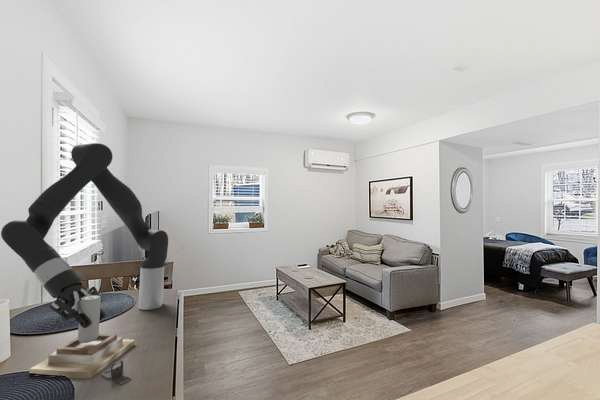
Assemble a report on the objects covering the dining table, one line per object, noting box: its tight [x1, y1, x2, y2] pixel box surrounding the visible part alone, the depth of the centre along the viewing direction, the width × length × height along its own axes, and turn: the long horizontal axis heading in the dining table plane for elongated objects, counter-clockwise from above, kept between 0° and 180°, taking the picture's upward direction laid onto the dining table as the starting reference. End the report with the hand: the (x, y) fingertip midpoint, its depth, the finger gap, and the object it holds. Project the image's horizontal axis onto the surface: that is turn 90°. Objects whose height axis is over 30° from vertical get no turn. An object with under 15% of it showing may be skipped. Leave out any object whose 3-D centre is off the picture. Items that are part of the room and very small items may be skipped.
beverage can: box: [77, 294, 102, 343], centre depth 81 cm, size 5×5×12 cm
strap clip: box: [101, 360, 132, 386], centre depth 72 cm, size 8×3×4 cm, turn 62°
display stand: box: [28, 333, 136, 379], centre depth 80 cm, size 18×16×5 cm
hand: (95, 321), depth 81 cm, fingers closed on beverage can, 4 cm apart
